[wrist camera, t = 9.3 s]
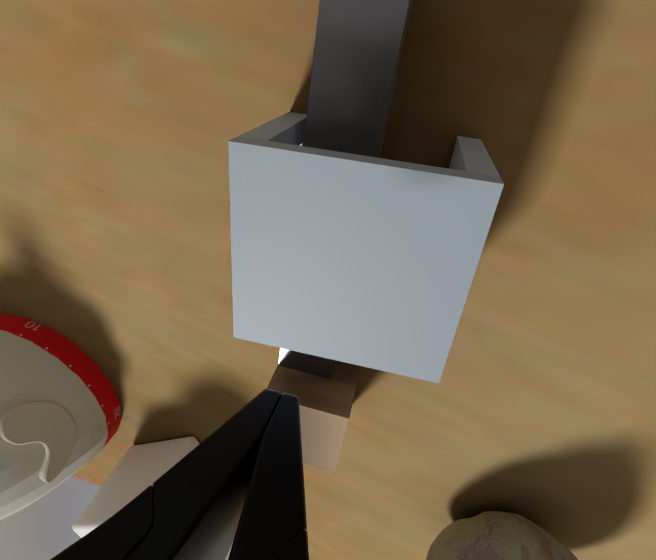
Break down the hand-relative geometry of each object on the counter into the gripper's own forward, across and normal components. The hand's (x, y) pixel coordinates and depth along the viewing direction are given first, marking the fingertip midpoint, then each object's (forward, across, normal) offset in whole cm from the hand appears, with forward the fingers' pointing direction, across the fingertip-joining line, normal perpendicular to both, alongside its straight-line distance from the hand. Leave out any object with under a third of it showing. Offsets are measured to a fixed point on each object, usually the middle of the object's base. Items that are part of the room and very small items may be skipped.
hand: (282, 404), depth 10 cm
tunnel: (+12, -1, -1) cm, 12 cm away
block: (+12, 0, +11) cm, 16 cm away
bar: (+13, +1, -2) cm, 13 cm away
